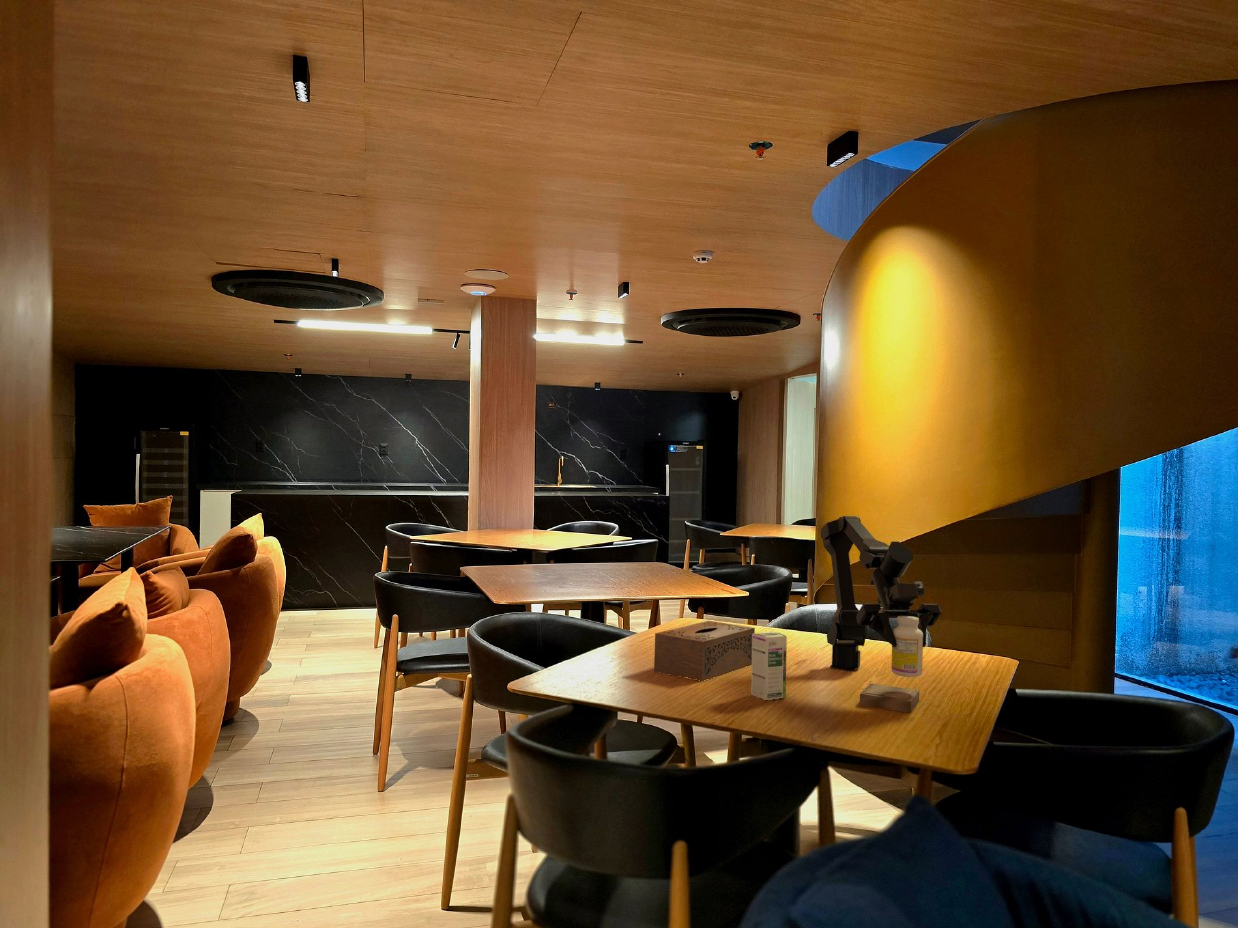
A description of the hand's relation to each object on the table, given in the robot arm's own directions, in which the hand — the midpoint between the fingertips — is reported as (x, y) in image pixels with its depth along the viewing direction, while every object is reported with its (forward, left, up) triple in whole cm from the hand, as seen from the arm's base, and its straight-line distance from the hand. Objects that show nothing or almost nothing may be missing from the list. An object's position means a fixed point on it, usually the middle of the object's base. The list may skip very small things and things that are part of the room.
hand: (909, 646), depth 191 cm
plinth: (-4, -1, -13) cm, 14 cm away
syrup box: (-29, -12, -13) cm, 34 cm away
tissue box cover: (-52, +6, -14) cm, 54 cm away
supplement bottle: (-1, +1, -7) cm, 7 cm away
